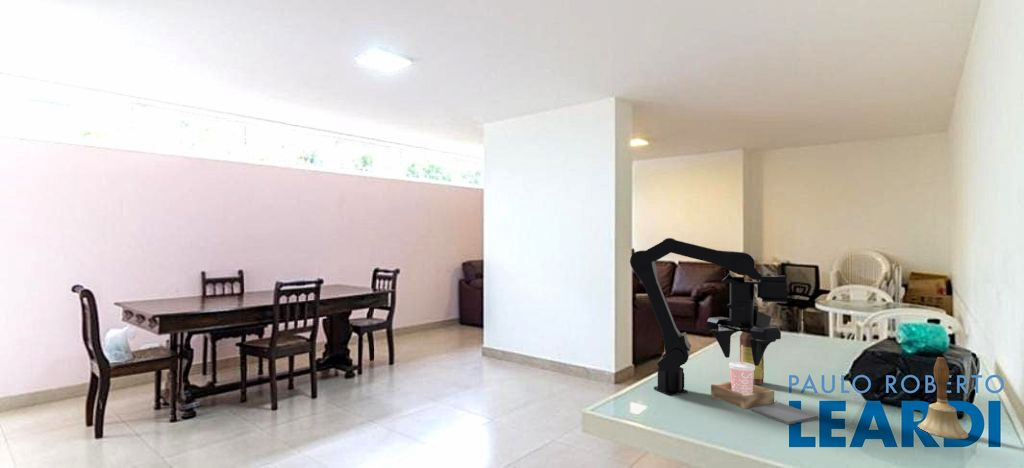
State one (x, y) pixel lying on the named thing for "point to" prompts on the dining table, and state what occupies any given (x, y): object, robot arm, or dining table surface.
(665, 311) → the robot arm
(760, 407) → the coaster
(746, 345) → the sauce bottle
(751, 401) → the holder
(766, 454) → the dining table surface
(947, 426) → the hand bell
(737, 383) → the beverage cup
